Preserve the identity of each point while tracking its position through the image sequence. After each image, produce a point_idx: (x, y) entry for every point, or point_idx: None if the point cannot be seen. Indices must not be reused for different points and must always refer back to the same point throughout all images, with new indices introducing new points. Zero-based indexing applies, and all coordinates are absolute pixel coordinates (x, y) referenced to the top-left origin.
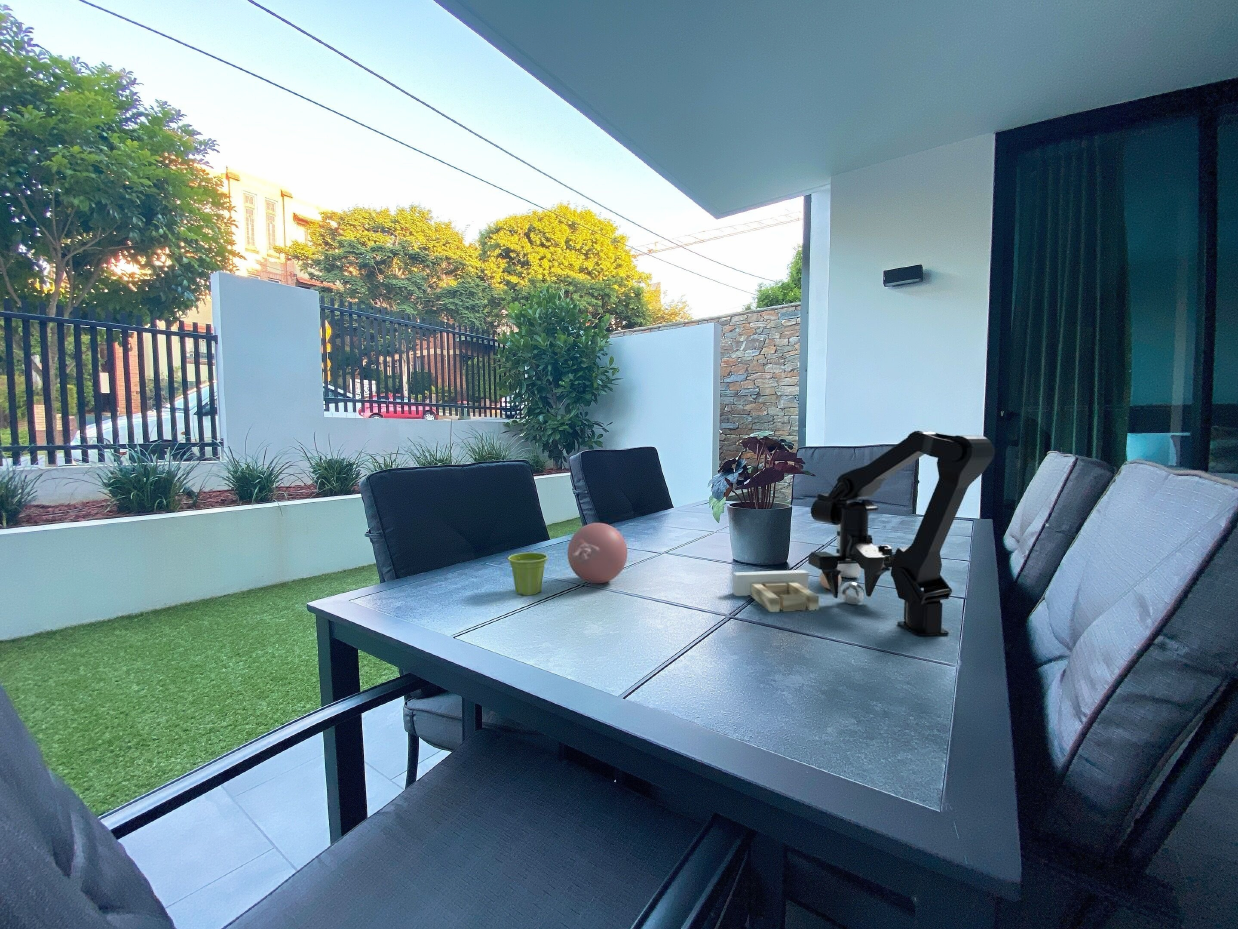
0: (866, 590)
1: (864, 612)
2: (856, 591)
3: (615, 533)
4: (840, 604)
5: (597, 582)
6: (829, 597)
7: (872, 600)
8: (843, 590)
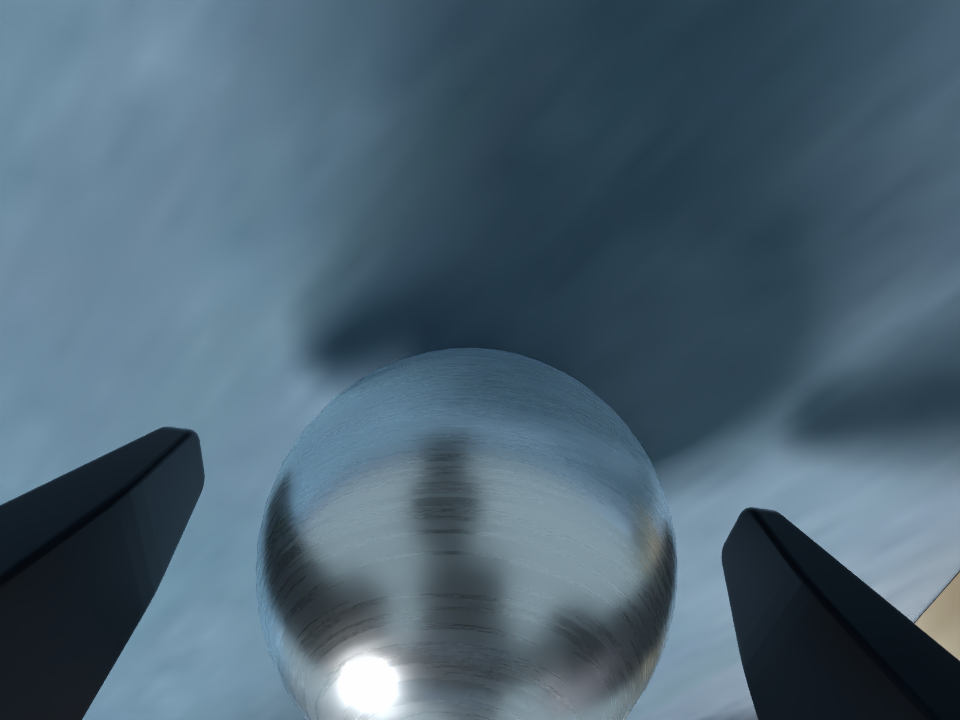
0: (162, 546)
1: (575, 60)
2: (535, 472)
3: None
4: None
5: None
6: None
7: None
8: (674, 603)
